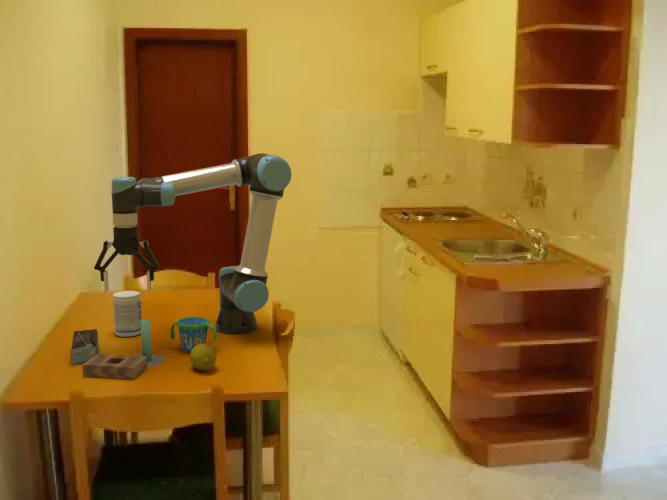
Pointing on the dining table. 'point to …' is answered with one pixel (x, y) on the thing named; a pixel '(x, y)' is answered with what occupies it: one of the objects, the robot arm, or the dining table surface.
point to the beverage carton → (84, 346)
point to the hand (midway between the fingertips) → (128, 290)
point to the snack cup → (192, 332)
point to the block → (115, 366)
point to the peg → (146, 339)
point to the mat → (154, 359)
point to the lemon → (203, 357)
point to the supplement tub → (127, 313)
